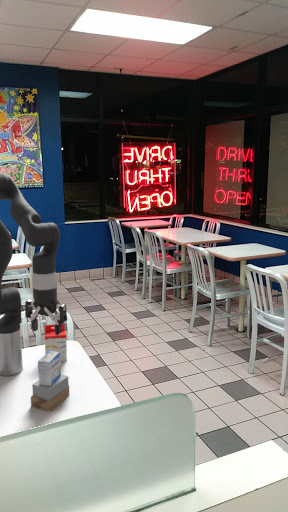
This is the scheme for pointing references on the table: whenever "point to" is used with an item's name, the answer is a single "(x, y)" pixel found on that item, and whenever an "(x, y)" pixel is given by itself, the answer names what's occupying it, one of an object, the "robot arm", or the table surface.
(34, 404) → the walnut base slab
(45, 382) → the medicine box
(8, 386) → the table surface
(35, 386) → the slate top slab
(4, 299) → the robot arm
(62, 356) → the ink box
